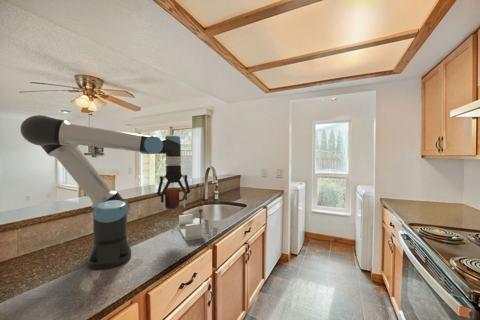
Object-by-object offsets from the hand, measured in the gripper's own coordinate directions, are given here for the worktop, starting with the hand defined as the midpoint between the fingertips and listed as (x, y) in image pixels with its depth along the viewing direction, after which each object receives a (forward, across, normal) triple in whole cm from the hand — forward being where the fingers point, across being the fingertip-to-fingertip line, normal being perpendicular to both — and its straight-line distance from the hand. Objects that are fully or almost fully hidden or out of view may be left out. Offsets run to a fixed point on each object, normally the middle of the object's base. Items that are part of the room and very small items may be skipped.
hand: (174, 207), depth 107 cm
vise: (+16, +9, +5) cm, 19 cm away
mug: (+1, 0, 0) cm, 1 cm away
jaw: (+15, +9, +17) cm, 24 cm away
